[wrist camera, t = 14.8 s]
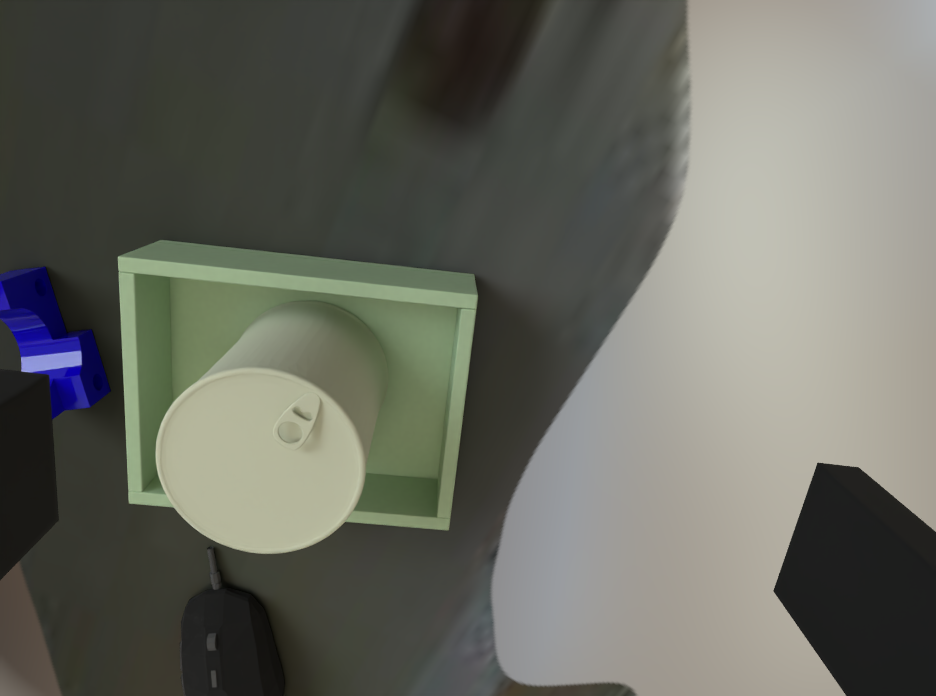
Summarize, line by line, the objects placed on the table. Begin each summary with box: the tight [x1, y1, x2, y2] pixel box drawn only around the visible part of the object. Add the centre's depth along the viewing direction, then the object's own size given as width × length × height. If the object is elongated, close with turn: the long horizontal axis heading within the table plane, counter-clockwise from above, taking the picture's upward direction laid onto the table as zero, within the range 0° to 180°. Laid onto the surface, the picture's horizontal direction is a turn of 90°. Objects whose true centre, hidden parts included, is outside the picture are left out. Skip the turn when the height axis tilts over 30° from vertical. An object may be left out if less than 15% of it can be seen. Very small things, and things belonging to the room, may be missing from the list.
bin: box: [118, 240, 478, 530], centre depth 38 cm, size 14×18×5 cm
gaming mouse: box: [180, 547, 285, 696], centre depth 45 cm, size 6×15×4 cm, turn 4°
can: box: [155, 301, 388, 554], centre depth 34 cm, size 9×9×12 cm
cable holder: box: [0, 267, 111, 419], centre depth 38 cm, size 8×4×4 cm, turn 7°
